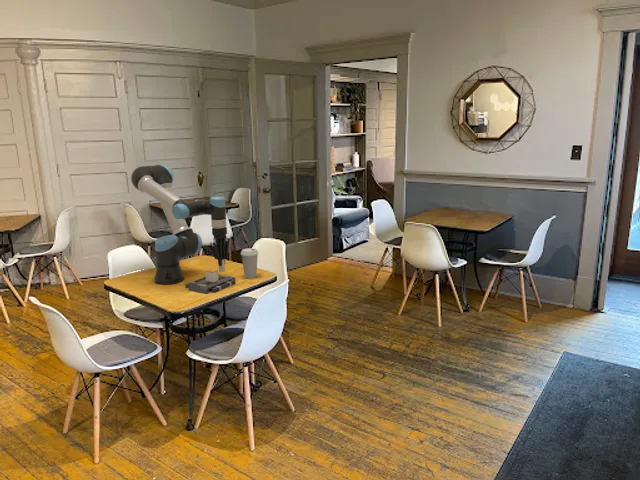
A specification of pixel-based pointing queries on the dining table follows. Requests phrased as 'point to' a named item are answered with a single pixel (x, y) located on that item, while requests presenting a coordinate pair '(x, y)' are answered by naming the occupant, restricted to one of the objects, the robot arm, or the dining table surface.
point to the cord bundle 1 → (194, 282)
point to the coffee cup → (249, 262)
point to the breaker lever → (211, 275)
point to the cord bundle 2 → (223, 286)
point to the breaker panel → (209, 284)
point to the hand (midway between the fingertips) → (222, 271)
